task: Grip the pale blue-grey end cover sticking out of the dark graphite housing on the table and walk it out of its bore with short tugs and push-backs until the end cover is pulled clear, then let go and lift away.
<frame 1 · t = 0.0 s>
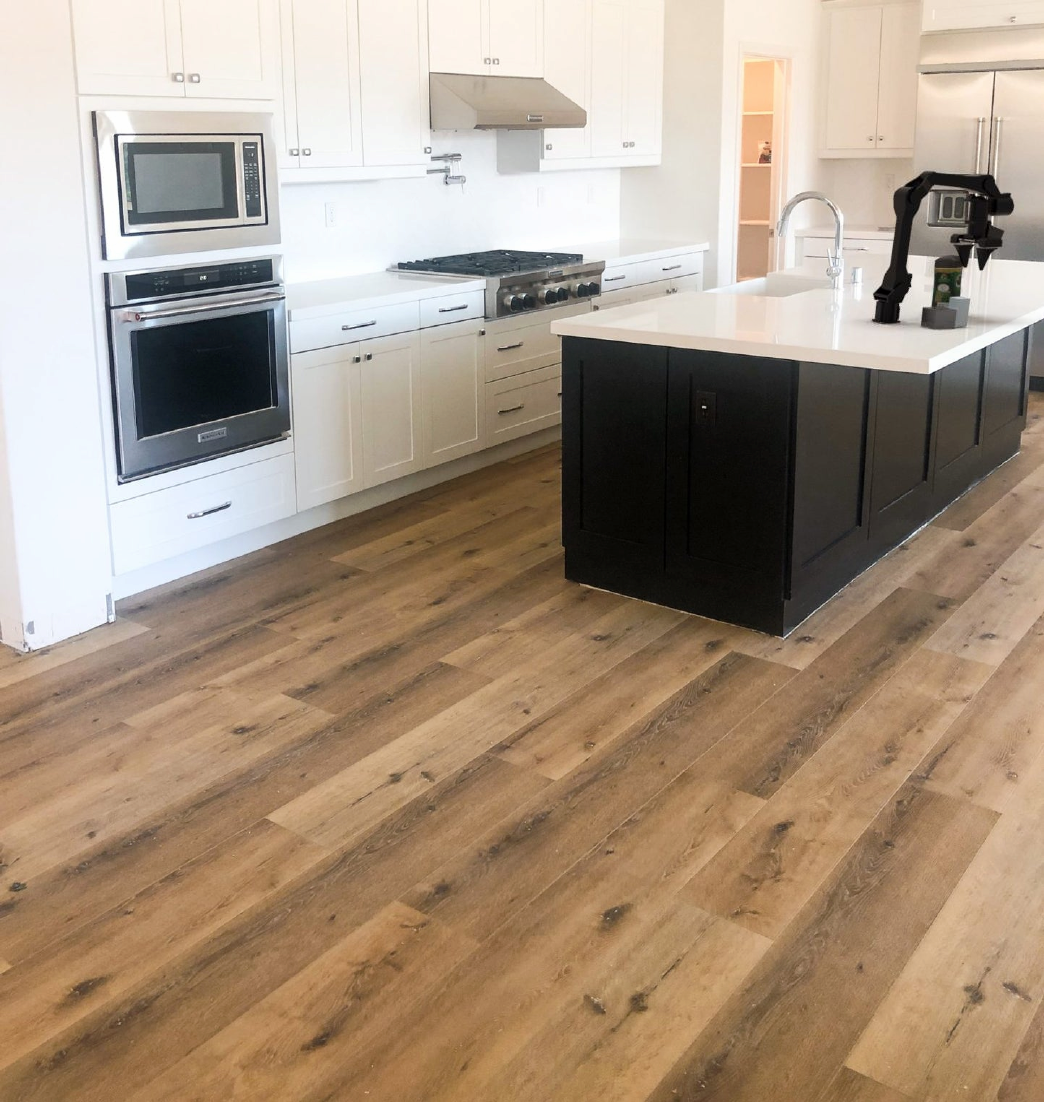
hand: (973, 269, 374), 15 cm above the counter, tool pointing down, fingers open, 8 cm apart
coffee jar: (944, 315, 386), on the counter, touching gripper
end cover: (948, 312, 362), point 4 cm above the counter, slide at 0.0 cm
housing: (937, 327, 362), on the counter
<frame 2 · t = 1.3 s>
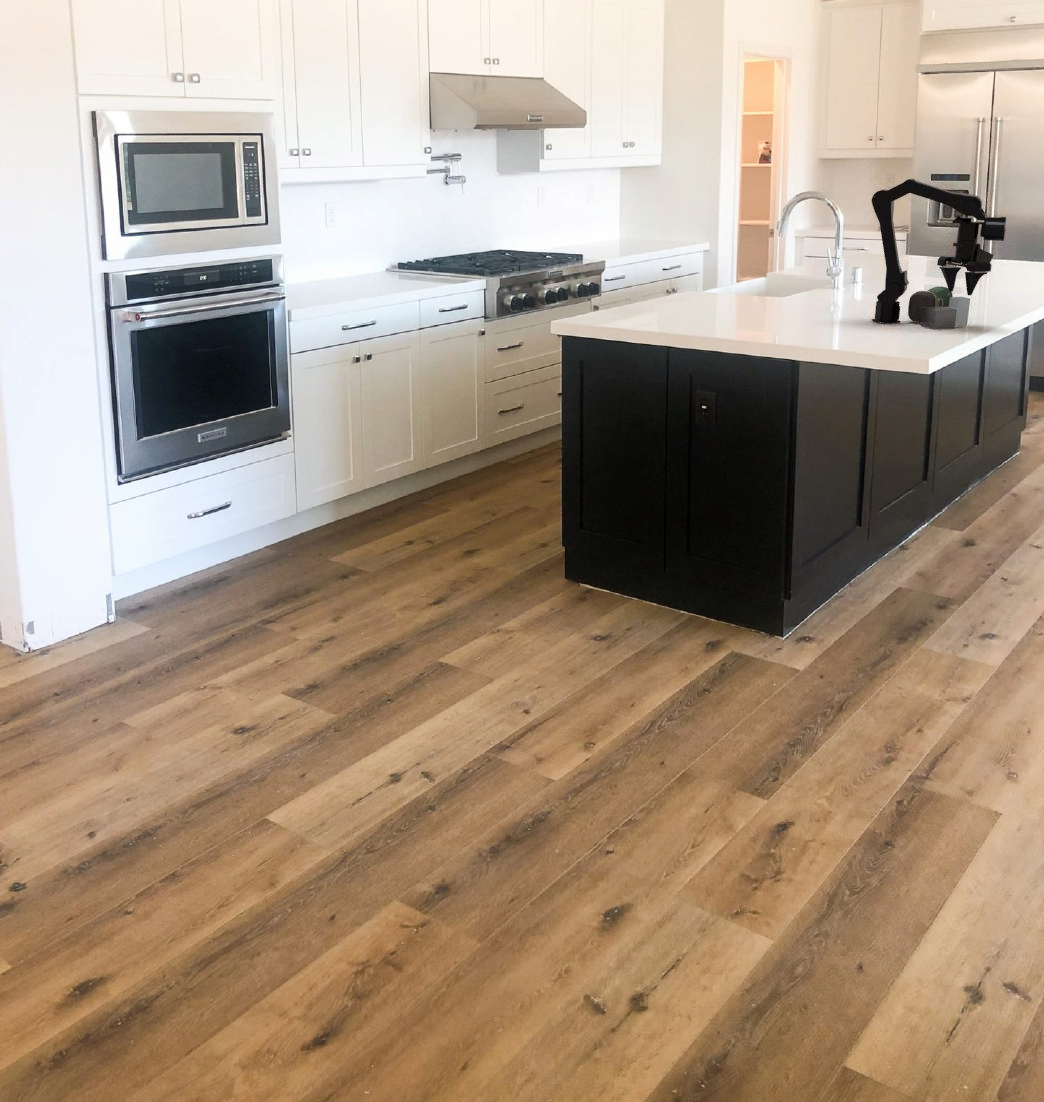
hand: (960, 293, 361), 10 cm above the counter, tool pointing down, fingers open, 9 cm apart
coffee jar: (940, 302, 381), point 5 cm above the counter
everything else where it was.
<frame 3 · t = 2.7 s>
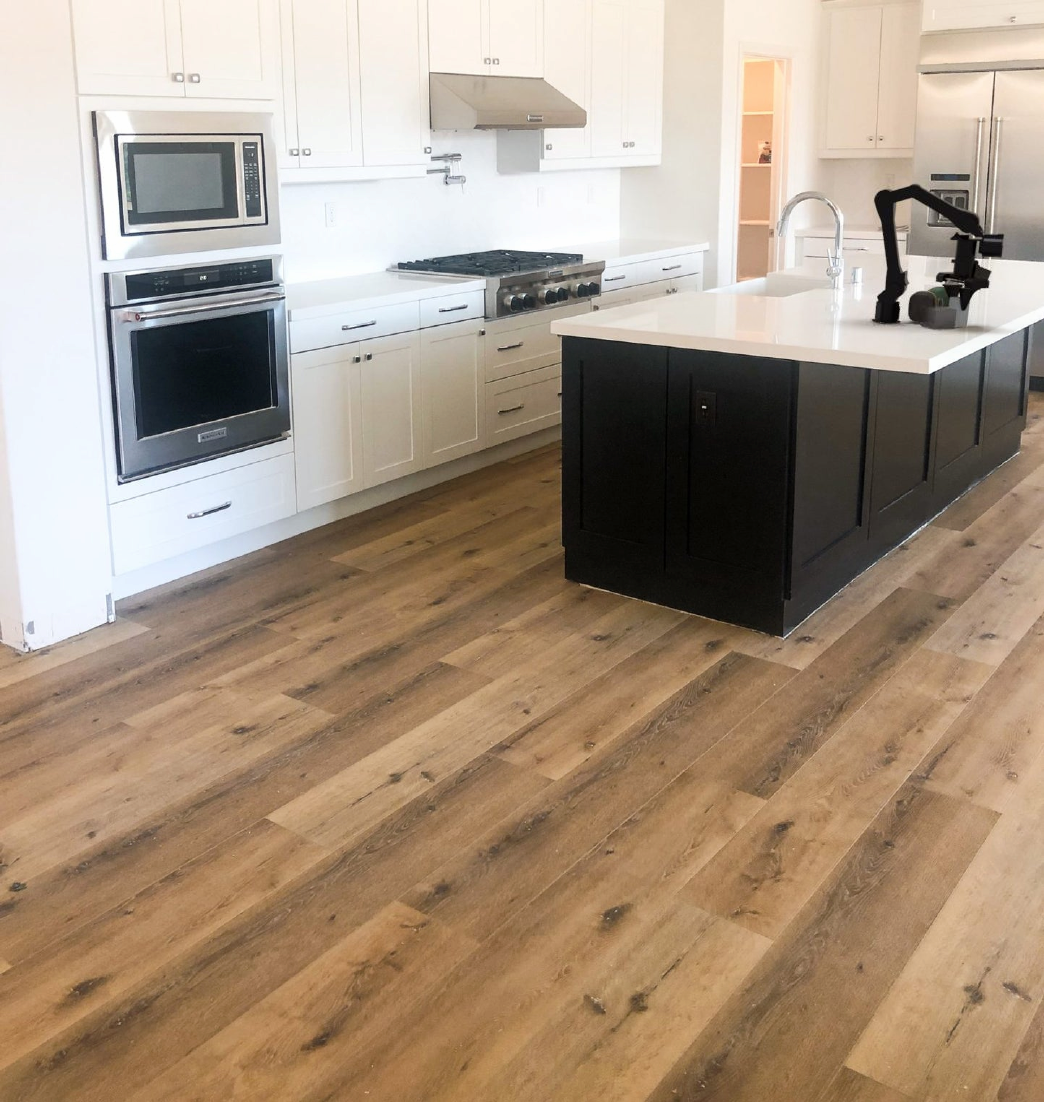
hand: (958, 309, 362), 5 cm above the counter, tool pointing down, fingers closed on end cover, 4 cm apart
end cover: (948, 312, 362), point 4 cm above the counter, slide at 0.0 cm, touching gripper
everything else where it was.
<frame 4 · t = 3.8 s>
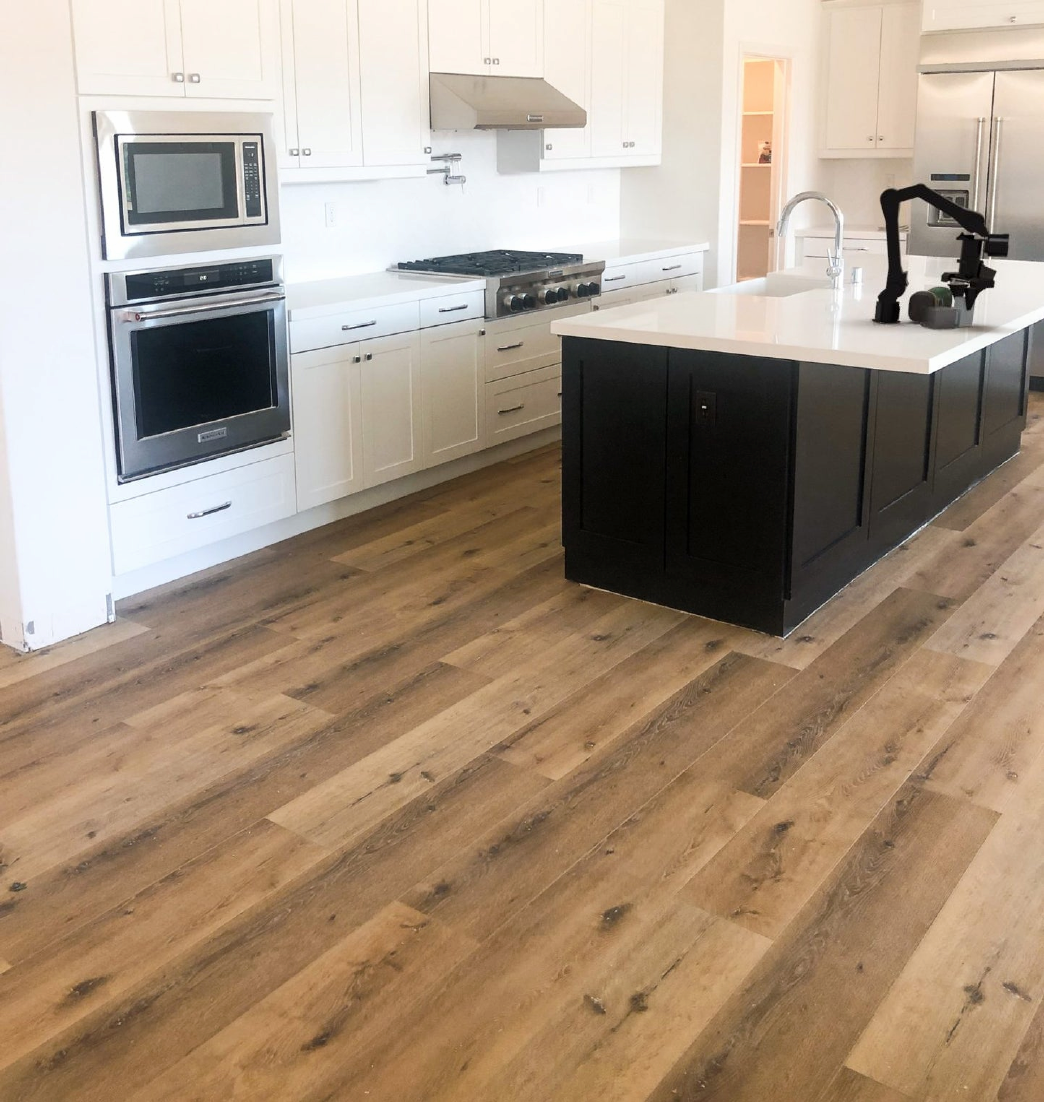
hand: (963, 309, 363), 5 cm above the counter, tool pointing down, fingers closed on end cover, 4 cm apart
end cover: (953, 311, 362), point 4 cm above the counter, slide at 1.8 cm, touching gripper
everything else where it was.
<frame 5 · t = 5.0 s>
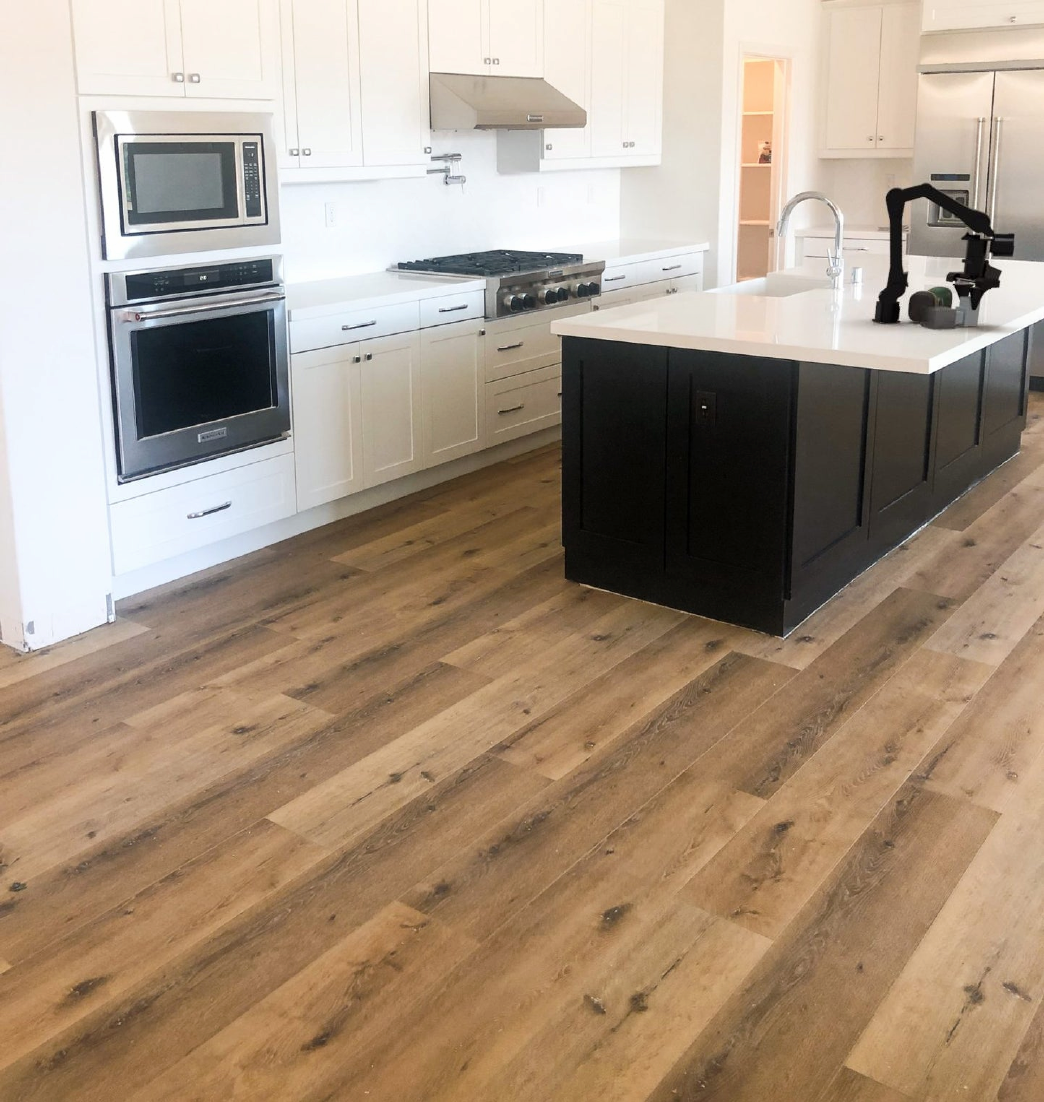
hand: (969, 309, 363), 5 cm above the counter, tool pointing down, fingers closed on end cover, 4 cm apart
end cover: (958, 311, 363), point 4 cm above the counter, slide at 3.6 cm, touching gripper
everything else where it was.
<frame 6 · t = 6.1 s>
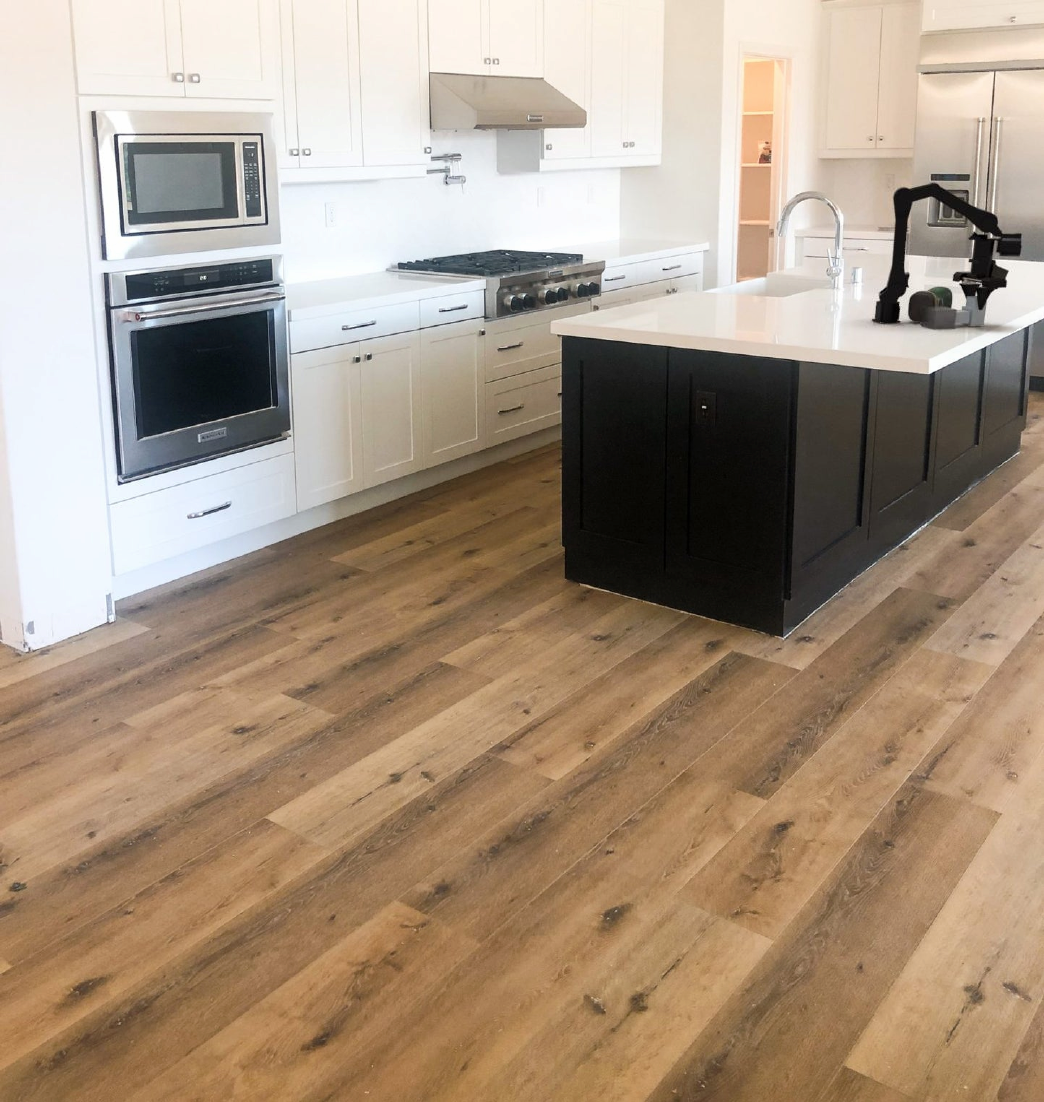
hand: (975, 308, 364), 5 cm above the counter, tool pointing down, fingers closed on end cover, 4 cm apart
end cover: (965, 311, 363), point 4 cm above the counter, slide at 5.9 cm, touching gripper
everything else where it was.
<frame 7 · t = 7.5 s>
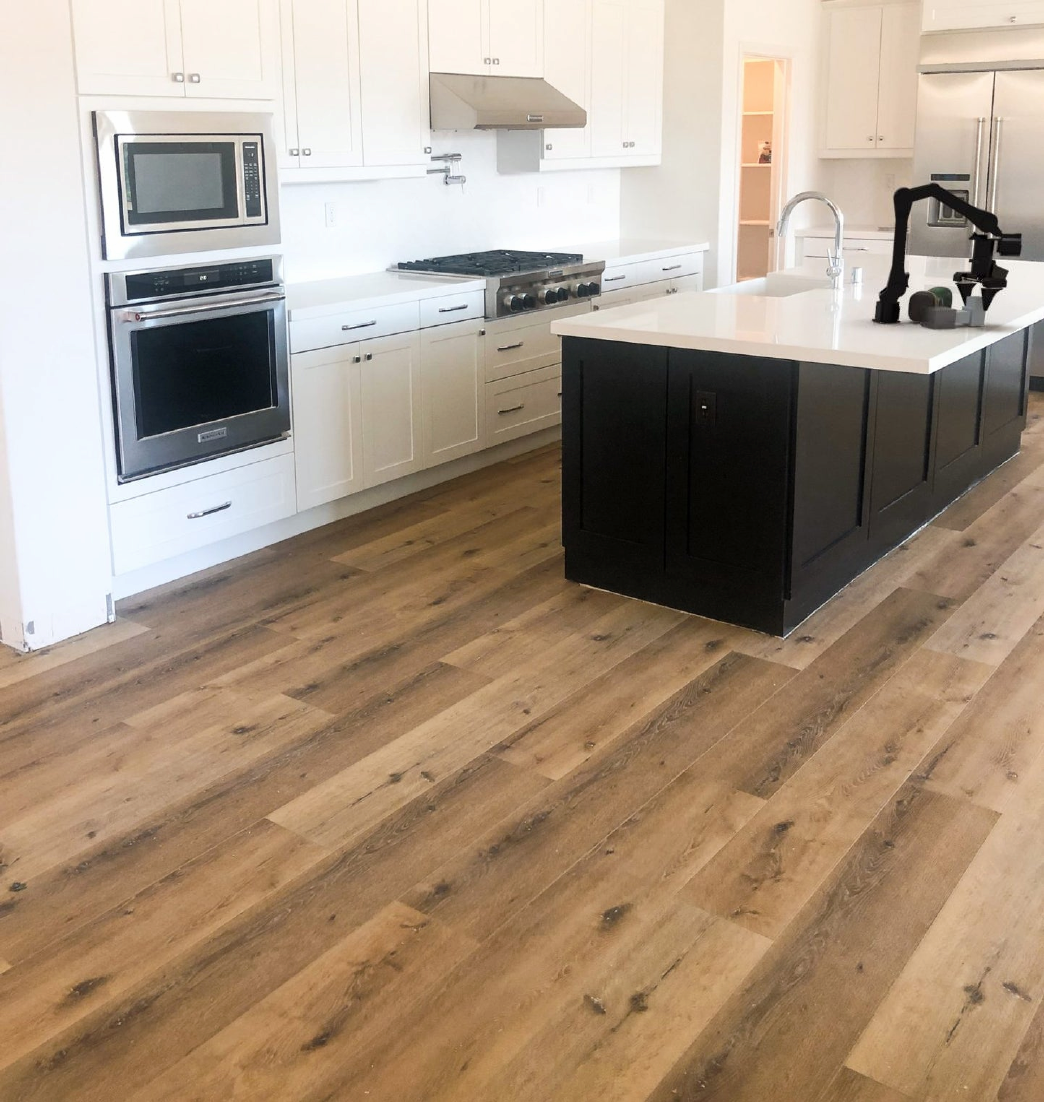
hand: (975, 309, 364), 5 cm above the counter, tool pointing down, fingers open, 9 cm apart
end cover: (965, 311, 363), point 4 cm above the counter, slide at 5.9 cm
everything else where it was.
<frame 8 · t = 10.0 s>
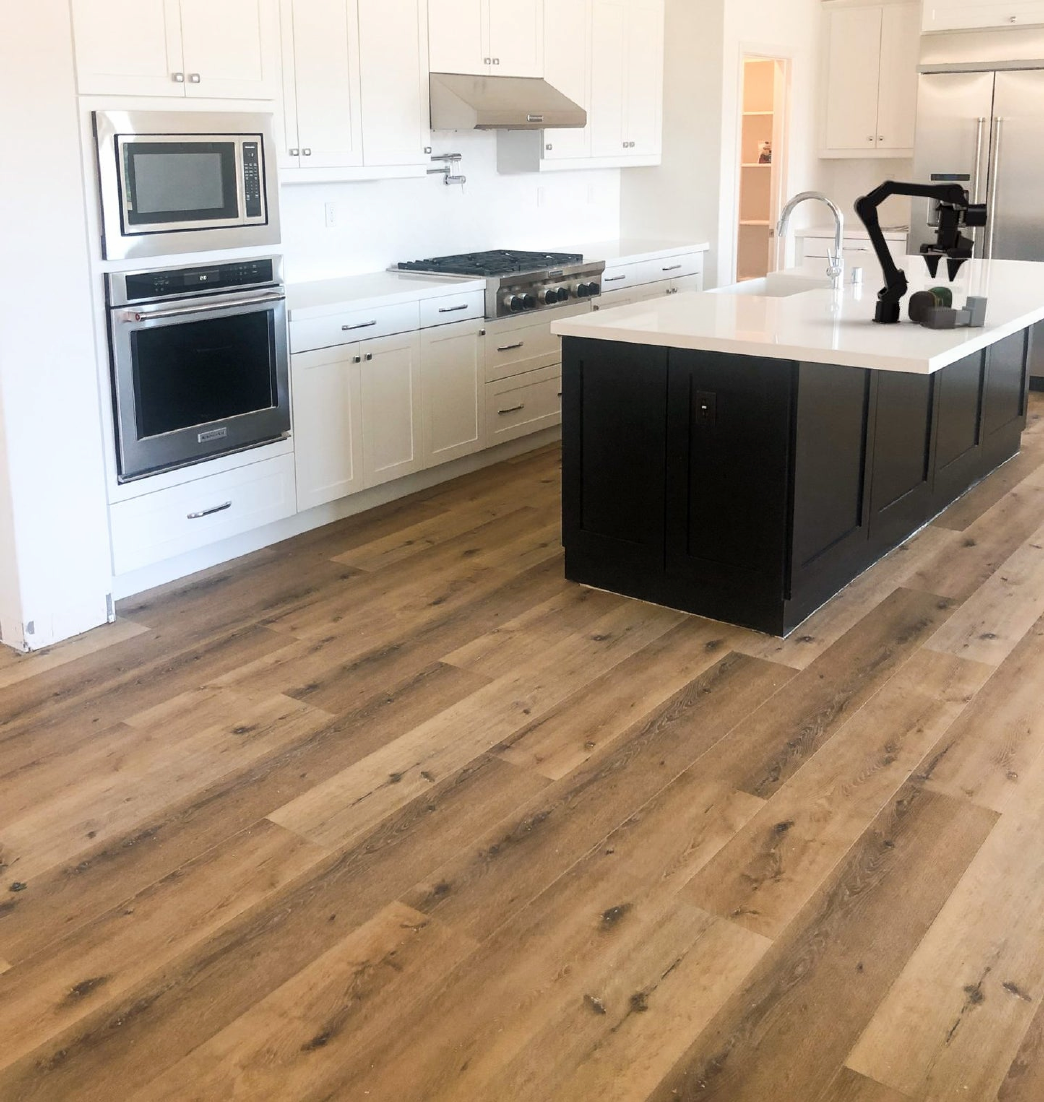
hand: (942, 280, 365), 13 cm above the counter, tool pointing down, fingers open, 9 cm apart
nothing on the counter moved.
at the end: end cover slide at 5.9 cm; the gripper is holding nothing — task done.
